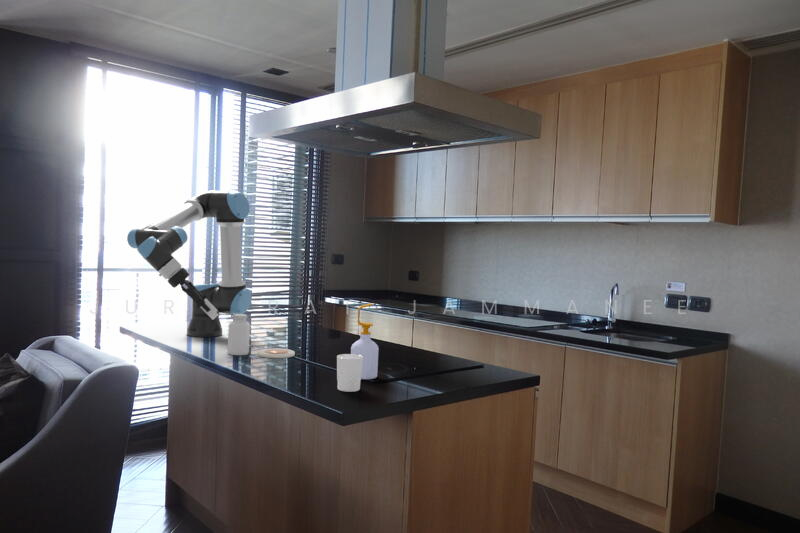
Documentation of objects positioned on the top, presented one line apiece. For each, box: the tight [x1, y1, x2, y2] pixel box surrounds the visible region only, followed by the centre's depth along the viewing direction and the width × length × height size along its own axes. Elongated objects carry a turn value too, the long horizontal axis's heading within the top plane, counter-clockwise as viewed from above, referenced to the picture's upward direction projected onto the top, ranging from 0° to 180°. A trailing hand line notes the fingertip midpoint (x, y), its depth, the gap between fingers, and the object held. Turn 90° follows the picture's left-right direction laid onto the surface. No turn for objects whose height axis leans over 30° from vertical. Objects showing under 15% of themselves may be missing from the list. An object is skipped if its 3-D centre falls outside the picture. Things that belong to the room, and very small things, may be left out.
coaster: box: [257, 348, 296, 359], centre depth 224 cm, size 14×14×1 cm
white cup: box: [336, 353, 363, 393], centre depth 176 cm, size 8×8×10 cm
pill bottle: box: [226, 313, 251, 356], centre depth 222 cm, size 8×8×15 cm
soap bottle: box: [350, 302, 380, 380], centre depth 194 cm, size 9×9×25 cm
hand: (215, 315), depth 219 cm, fingers open, 13 cm apart
